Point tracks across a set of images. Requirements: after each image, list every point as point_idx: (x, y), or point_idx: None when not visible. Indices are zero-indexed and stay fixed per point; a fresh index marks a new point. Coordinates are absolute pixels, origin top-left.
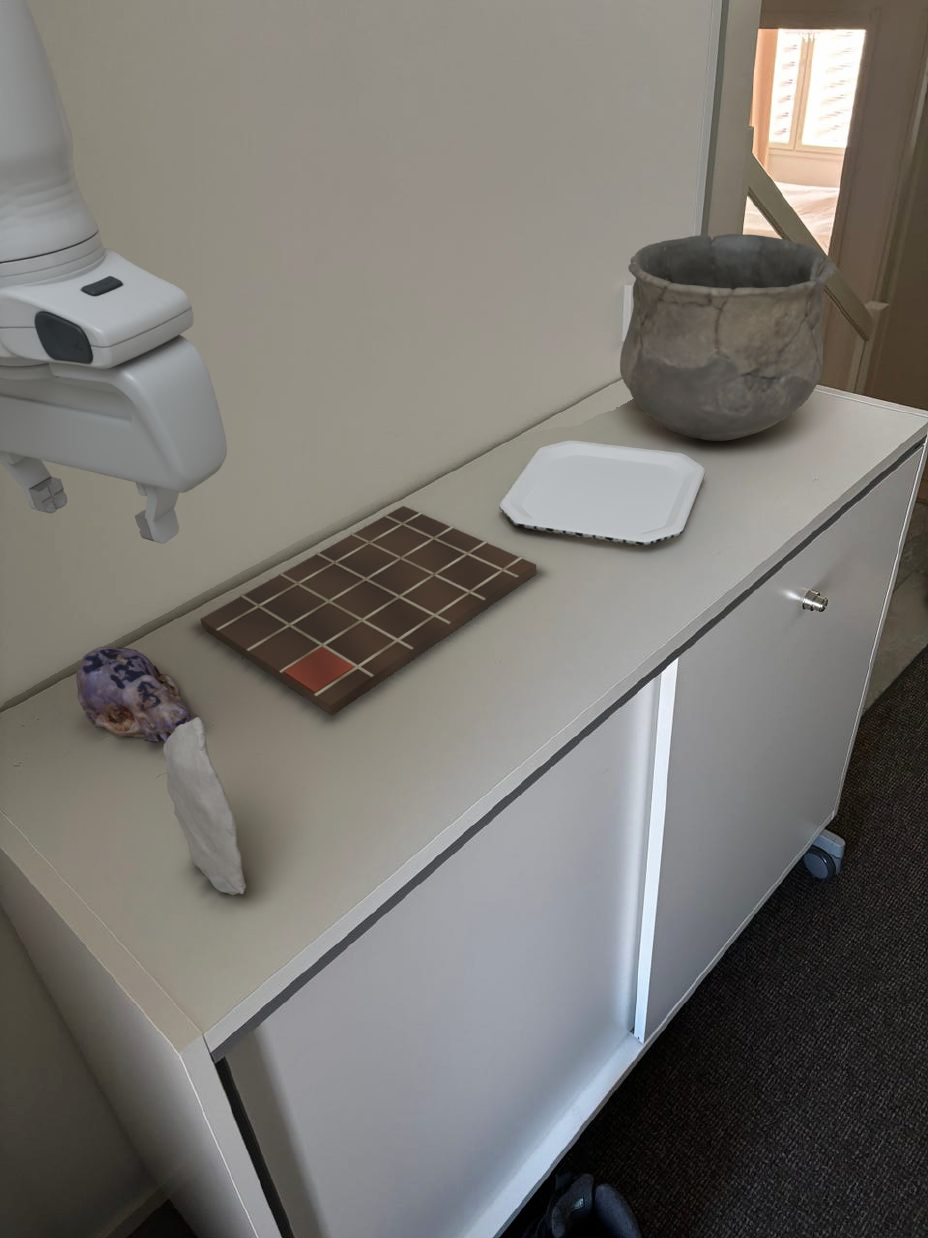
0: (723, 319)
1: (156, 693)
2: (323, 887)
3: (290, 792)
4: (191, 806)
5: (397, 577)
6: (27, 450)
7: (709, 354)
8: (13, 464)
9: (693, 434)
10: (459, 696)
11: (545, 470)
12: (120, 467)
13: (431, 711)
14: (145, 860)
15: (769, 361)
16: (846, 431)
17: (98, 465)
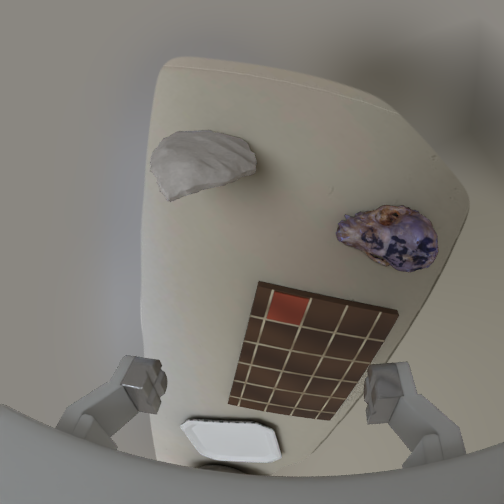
0: None
1: (369, 244)
2: None
3: (236, 217)
4: (190, 147)
5: (294, 382)
6: (326, 495)
7: None
8: (430, 431)
9: (218, 467)
10: (200, 319)
11: (270, 448)
12: (57, 453)
13: (206, 304)
14: (282, 127)
15: None
16: None
17: (105, 466)
